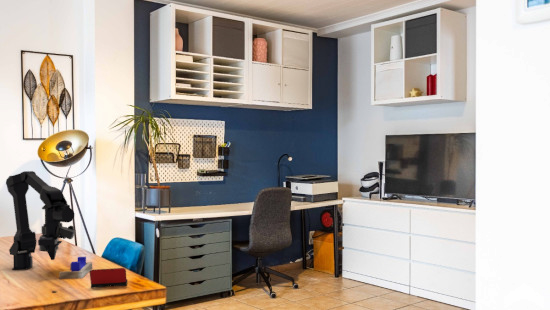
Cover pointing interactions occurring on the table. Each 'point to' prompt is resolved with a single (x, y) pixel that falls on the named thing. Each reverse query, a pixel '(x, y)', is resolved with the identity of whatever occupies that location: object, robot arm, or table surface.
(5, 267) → the table surface
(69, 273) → the slot rails
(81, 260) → the cable clip
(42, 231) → the ink bottle
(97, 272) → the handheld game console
